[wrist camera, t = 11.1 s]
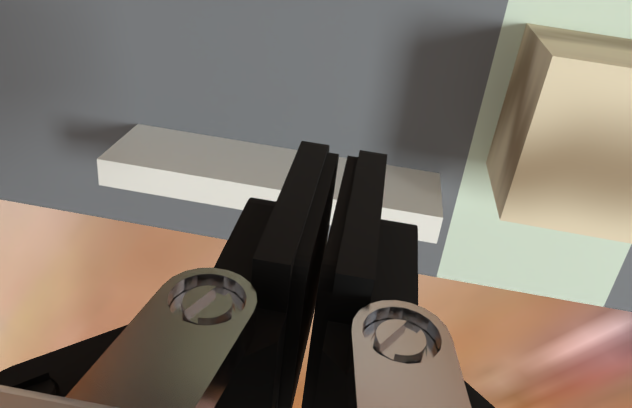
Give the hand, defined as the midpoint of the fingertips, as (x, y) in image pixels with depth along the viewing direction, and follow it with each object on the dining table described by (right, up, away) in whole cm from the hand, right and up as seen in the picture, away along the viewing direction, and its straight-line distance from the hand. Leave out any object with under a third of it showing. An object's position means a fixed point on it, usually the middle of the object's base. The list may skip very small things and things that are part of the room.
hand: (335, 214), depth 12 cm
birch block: (+10, +4, +12) cm, 16 cm away
